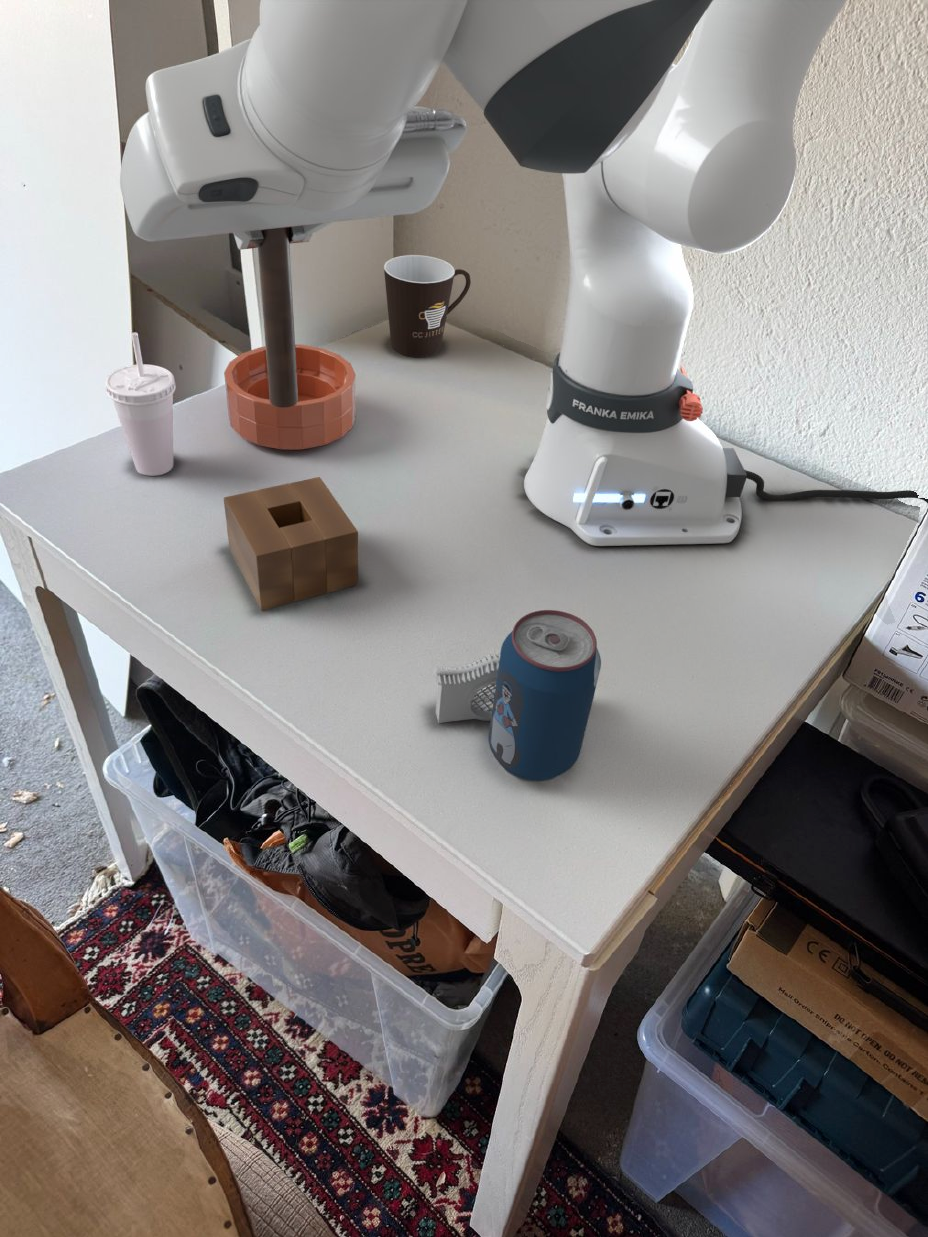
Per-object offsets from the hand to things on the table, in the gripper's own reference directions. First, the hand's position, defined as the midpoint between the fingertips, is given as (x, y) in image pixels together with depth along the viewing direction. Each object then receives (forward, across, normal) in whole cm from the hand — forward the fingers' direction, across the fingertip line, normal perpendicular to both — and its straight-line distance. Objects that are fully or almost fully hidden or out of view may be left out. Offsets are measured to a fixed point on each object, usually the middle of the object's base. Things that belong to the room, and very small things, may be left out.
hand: (269, 235), depth 65 cm
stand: (+20, 0, +21) cm, 29 cm away
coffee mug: (+46, -31, -4) cm, 56 cm away
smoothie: (+35, +7, +7) cm, 37 cm away
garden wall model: (+4, -9, +38) cm, 39 cm away
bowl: (+37, -8, +4) cm, 39 cm away
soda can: (+1, -9, +41) cm, 42 cm away
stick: (+8, 0, +9) cm, 13 cm away
